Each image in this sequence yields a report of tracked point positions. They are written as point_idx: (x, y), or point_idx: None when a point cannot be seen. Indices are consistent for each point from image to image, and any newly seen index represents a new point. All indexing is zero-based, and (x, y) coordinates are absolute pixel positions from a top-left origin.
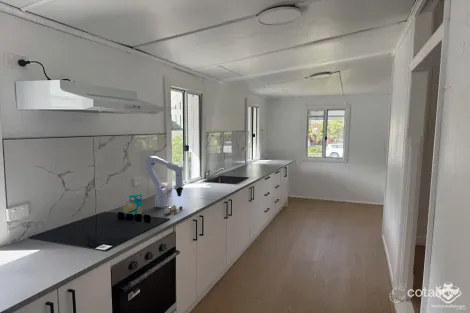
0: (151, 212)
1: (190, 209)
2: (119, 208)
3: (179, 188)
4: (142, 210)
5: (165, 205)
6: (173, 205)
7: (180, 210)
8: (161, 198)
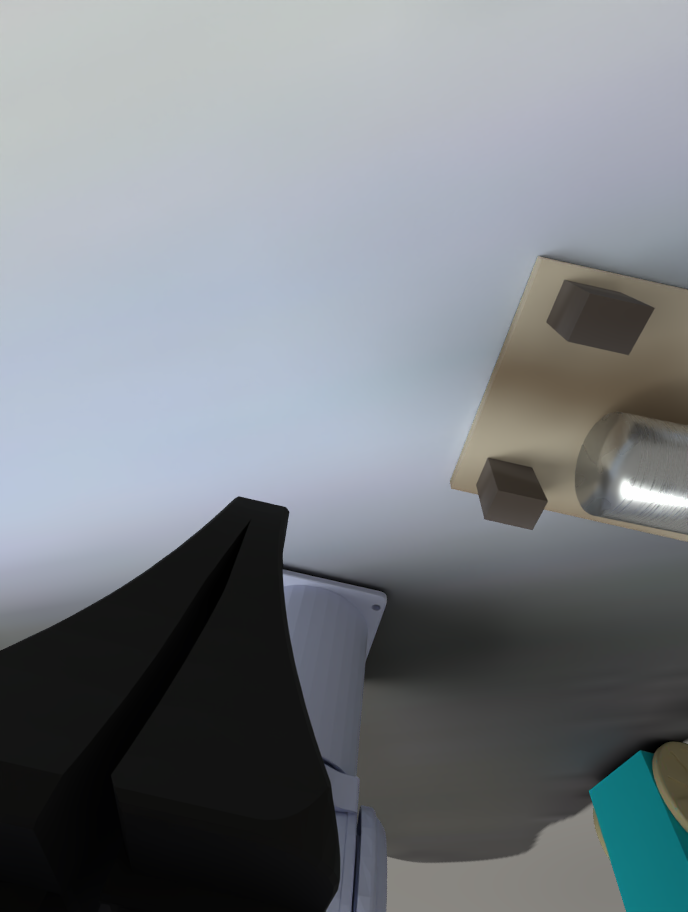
0: (622, 673)
1: (512, 59)
2: (419, 852)
3: (232, 900)
4: (661, 771)
5: (333, 603)
6: (667, 494)
7: (662, 297)
8: (355, 758)
